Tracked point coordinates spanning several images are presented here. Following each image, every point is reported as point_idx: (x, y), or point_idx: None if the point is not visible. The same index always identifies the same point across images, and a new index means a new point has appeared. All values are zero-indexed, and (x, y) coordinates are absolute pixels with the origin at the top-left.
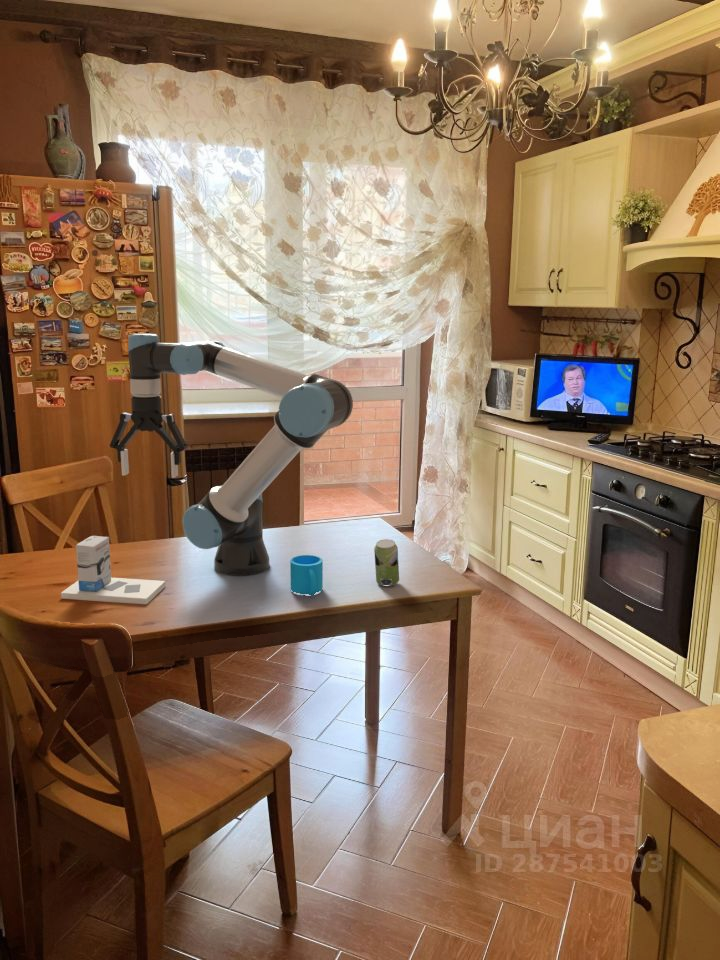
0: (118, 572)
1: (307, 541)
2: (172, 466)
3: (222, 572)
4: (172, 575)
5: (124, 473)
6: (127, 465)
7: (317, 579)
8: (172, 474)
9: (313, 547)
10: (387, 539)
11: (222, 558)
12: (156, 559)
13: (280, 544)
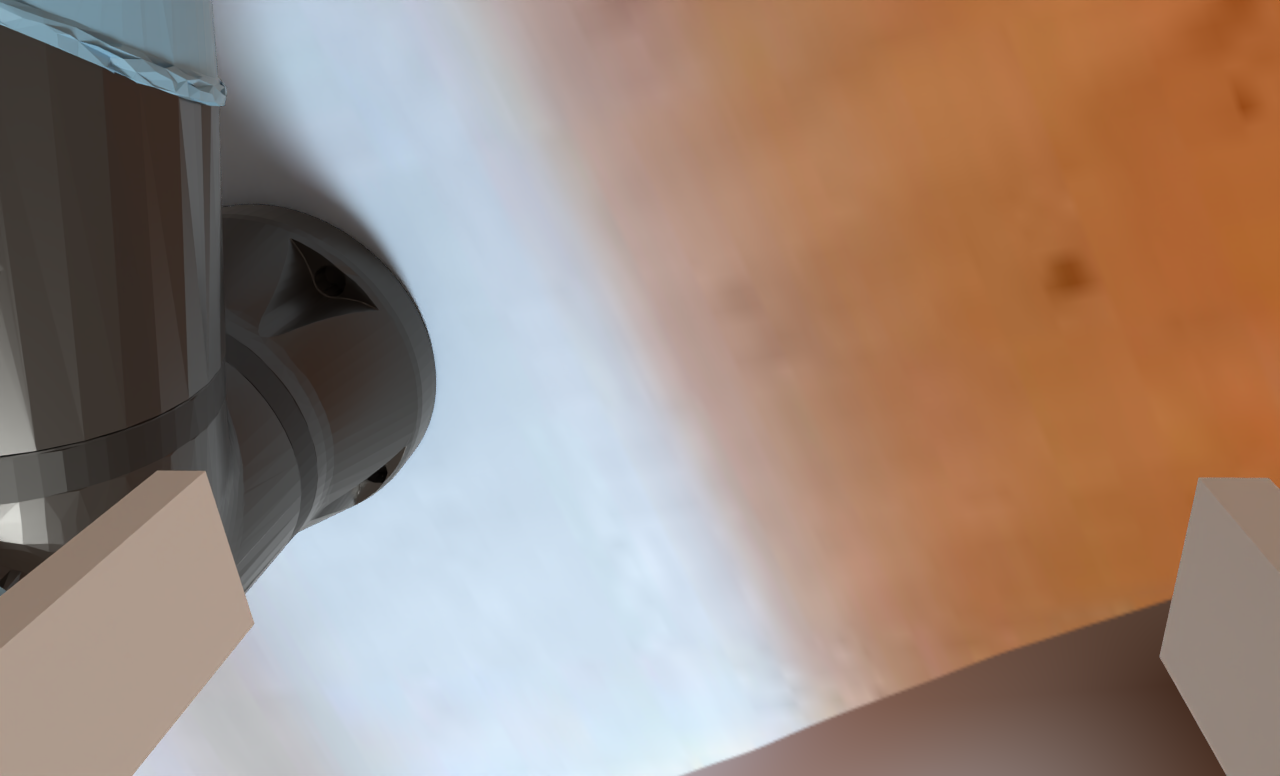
0: (984, 98)
1: (187, 732)
2: (18, 609)
3: (318, 221)
4: (597, 128)
5: (1221, 501)
6: (1256, 758)
7: None
8: (148, 505)
9: None
10: None
11: (283, 262)
12: (822, 381)
13: (280, 684)
